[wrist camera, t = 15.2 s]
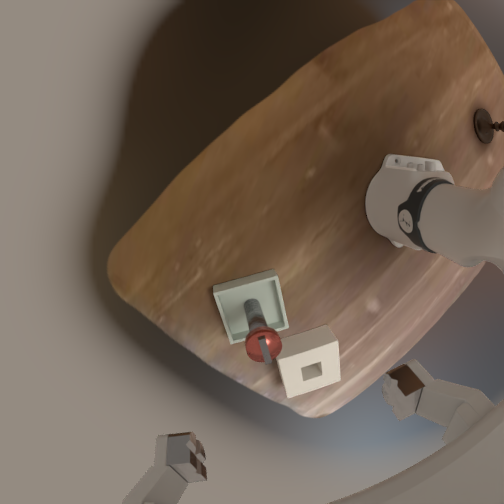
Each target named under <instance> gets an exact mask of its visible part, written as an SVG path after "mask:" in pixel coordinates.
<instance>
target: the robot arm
mask: <svg viewBox="0 0 504 504" xmlns="http://www.w3.org/2000/svg"><path fill="white" fill-rule="evenodd" d="M395 159H396V162H395ZM365 206H366V214H367V218H368V220H369V222H370V224H371V226H372V227H373V229H374V230H375V231H376V232H377V233H379V234H380V235H382V236H384V237H387V238H388V239H389V240H390V241H391V243H392V244H393V245H394V246H396V247H402V246H404V245H405V246H407V247H410V248H413V249H415V250H421V249H423V250H425V251H429V252H431V253H438V254H440V255H442V256H444V257H446V258H448V259H449V260H451V261H453V262H455V263H457V264H459V265H460V266H463V267H473V266H476V265H478V264H479V263H481V262H482V261H483V260H484V261H489V262H492V263H494V264H495V265H496V266H498V267H499V268H500V269H501V270H502V272H503V273H504V167H503V168H502V169H501V170H500V172H499V173H498V174H497V176H496V178H495V179H494V181H493V184H492V187H490V188H488V189H483V190H481V189H472V188H467V187H462V186H457V185H454V181H453V178H452V176H451V174H450V173H449V172H446V171H444V169H443V166H442V164H441V162H440V161H439V160H435V159H429V158H421V157H413V156H405V155H396V154H388V155H386V157H385V159H384V161H383V164H382V167H381V169H380V170H379V172H378V173H377V174H376V175H375V176H374V178H373V179H372V181H371V183H370V185H369V187H368V190H367V194H366V202H365ZM383 380H384V381H385V383H384V384H383V386H382V393H383V397H384V399H385V401H386V402H387V404H389V405H391V406H393V410H392V411H393V413H394V414H395V415H396V417H397V418H398V420H399V421H401V420H402V419H405V418H406V417H409V416H410V415H412V414H414V413H416V414H418V415H420V416H422V417H424V418H426V419H428V420H431V421H433V422H435V423H437V424H440V425H442V426H444V427H447V430H446V431H445V434H444V436H443V438H442V440H443V441H444V443H445V444H446V446H444V447H442V448H441V449H440V450H438V451H436V452H435V453H433V454H432V455H430V456H429V457H427V458H425V459H423V460H422V461H420V462H418V463H417V464H415V465H413V466H412V467H410V468H408V469H406V470H404V471H402V472H400V473H398V474H396V475H394V476H392V477H390V478H388V479H386V480H384V481H382V482H380V483H378V484H376V485H373V486H371V487H369V488H367V489H364V490H362V491H359V492H357V493H355V494H352V495H349V496H347V497H344V498H341V499H339V500H336V501H333V502H330V503H327V504H504V399H503V400H502V401H501V402H500V403H499V404H498V405H497V406H495V405H494V404H493V403H492V402H491V401H490V400H489V399H488V398H487V397H486V396H485V395H484V394H483V393H482V392H481V391H480V390H478V389H473V388H470V387H466V386H462V385H458V384H454V383H451V382H447V381H443V380H439V379H437V380H434V379H433V377H432V376H431V375H430V374H429V373H428V372H427V371H426V370H425V369H424V368H423V367H422V366H421V365H420V363H419V362H418V361H417V360H415V359H413V360H411V361H409V362H407V363H405V364H403V365H400V366H398V367H397V368H394V369H392V370H390V371H388V372H386V373H385V374H384V377H383ZM205 460H206V457H205V451H204V448H203V446H202V443H201V442H200V441H199V440H196V435H195V434H194V433H193V432H185V433H176V434H166V435H158V437H157V439H156V447H155V459H154V466H151V467H150V468H149V469H148V471H147V472H146V473H145V475H144V476H143V477H142V478H141V479H140V481H139V482H138V483H137V484H136V485H135V486H134V488H133V489H132V490H131V491H130V492H129V494H128V495H127V496H126V497H125V498H124V500H123V503H122V504H177V503H178V501H179V500H180V498H181V496H182V494H183V493H184V491H185V489H186V487H187V486H188V483H191V482H199V481H207V472H206V467H205V466H204V465H203V463H204V461H205Z"/></svg>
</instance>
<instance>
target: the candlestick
mask: <svg viewBox="0 0 504 504" xmlns="http://www.w3.org/2000/svg"><path fill="white" fill-rule="evenodd" d="M474 128H475V132H476V134H477V137H478V138H479V140H480V141H481V142H483V143H490V142H491V140H492V138H493V133H494V129H495V130H496V131H499V130H501V131H503V132H504V121H502V122H501V123H500V124H499V123H498V122H495V123H494V124H493V123H492V119H491V117H490V115H489V113H488V112H487V111H486V110H484V109H478V110H476V112H475V114H474Z"/></svg>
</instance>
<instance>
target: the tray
mask: <svg viewBox="0 0 504 504" xmlns="http://www.w3.org/2000/svg"><path fill="white" fill-rule="evenodd" d="M213 294H214V297H215V300H216V303H217V306H218V309H219V312H220V315H221V318H222V320H223V323H224V326H225V329H226V332H227V335H228V337H229V340H230V343H231V344H234V343H238V342H241V341H245V338H246V336H247V334H248V333H249V332H250V331H249V327H248V323H247V319H246V315H245V310H244V303H245V301H247V300H248V299H251V298H254V299H257V300H258V301H259V303H260V305H261V308H262V311H263V314H264V317H265V320H266V323H267V325H268V327H271V328H273V329H275V330H276V331H280V330H284V329H287V328H289V326H288V321H287V316H286V312H285V307H284V302H283V297H282V293H281V288H280V283H279V279H278V275H277V273H276V272H275V270H274V269H272V270H268V271H264V272H261V273H257V274H254V275H250V276H247V277H243V278H239V279H236V280H232V281H228V282H225V283H221V284H217V285H214V286H213Z"/></svg>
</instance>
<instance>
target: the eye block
mask: <svg viewBox="0 0 504 504" xmlns="http://www.w3.org/2000/svg"><path fill="white" fill-rule="evenodd" d="M281 342H282V350H281V352H280V354H279V355H278V356H277V357H276V361H277V364H278V368H279V372H280V376H281V380H282V383H283V386H284V389H285V392H286V394H287V397H288V398H291V397H294V396H297V395H300V394H303V393H307V392H310V391H313V390H316V389H318V388H321V387H324V386H327V385H330V384H332V383H335V382H338V381H340V363H339V348H338V340H337V338H336V337H335V335H334V334H333V332H332V331H331V329H330V328H329V327H328V325H327V324H326V325H323V326H320V327H317V328H314V329H311V330H308V331H305V332H302V333H299V334H296V335H292V336H289V337H286V338H283V339H281Z"/></svg>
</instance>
